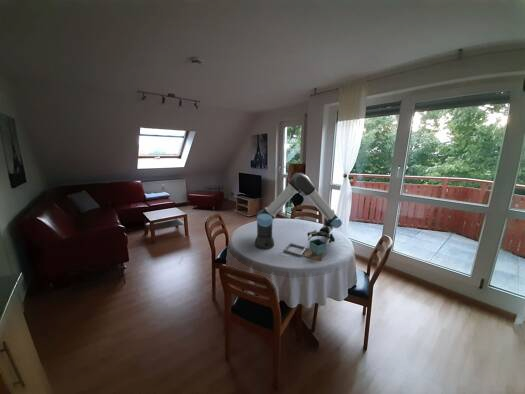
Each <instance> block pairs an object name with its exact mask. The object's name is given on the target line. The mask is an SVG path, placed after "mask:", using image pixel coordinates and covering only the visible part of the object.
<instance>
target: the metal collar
mask: <svg viewBox="0 0 525 394" xmlns="http://www.w3.org/2000/svg"><path fill="white" fill-rule="evenodd" d="M291 246H292V247H295V248H298V249H301V250H302V249H303V250H302V251H300V253H299V252H295V251H291V250H289V248H290V247H291ZM307 250H308V247H307V246H305V245H299V244H296V243H293V242H290V243H289V244H288V245H287V246H286V247H284V249H283V253H286V254H290V255H293V256H298V257H300V258H301V257H302V256H304V254H305V253H306V251H307Z"/></svg>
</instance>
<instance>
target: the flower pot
mask: <svg viewBox="0 0 525 394" xmlns="http://www.w3.org/2000/svg"><path fill="white" fill-rule="evenodd" d="M308 243H309V248H310V250H311V252H312V253H313V254H315V255H316V256H318V255H322V254H323V253H324V252H325V251H326V249H327V246H328V245H327V242H325V241H323V240H322V239H320V238H316V239H313V240H309V241H308ZM325 253H326V252H325Z"/></svg>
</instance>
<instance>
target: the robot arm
mask: <svg viewBox="0 0 525 394" xmlns="http://www.w3.org/2000/svg"><path fill="white" fill-rule="evenodd" d="M316 189H317V188H316V186H315V185H314V184H313V182H312V181H311V179H310V177H309V176H307V175H306V174H304V173H302V172H297V173H294V174H293V175H292V176H291V179H290V180H289V181H288V182H287V186H286V187H285V188H284V190H282V191H281V192H280V194H278V196H277V197H276V198H274V200H273V201H272V202H271V203H270V204H269V205H268V206H265V207H264V208H263V209H262V210H259V211H258V212H257V214H256V228H257V229H256V238H255V240H254V246H255V248H257V249H259V250H270V249H271V248H274V246H275V240H274V237H273V222H274V219H275V218H276V214H277V213H279V211H280V210H281V209H282V208H283V207H284V206H285V205H286V204H287V202H289V201H290V200H291V199H292V198H293V197H294V195H295V194H298V193H300V192H301V193H302V194H303V196H305V197H307V198H308V199H309V200H310V201H311V202H312V204H313V205H314V207H316V208H317V209H318V211H319V212H320V213H321V215H322V216H324V217H323V225H322V226H321V228H320V229H319V231H317V230H316V229H315V230H313V231H309V232H307V241H308V242H309V241H311V239H312V238H313V237H322V238H325V239H326V240H327V241H326V243H327V245H326V246H329V244H331V243H335V239H336V238H335V237H334V235H333V233H331V232H332V230H333V229H339V228H340V227H341V226H342V225H343V222H342V220H341V219H340V218H339V217H338V216H337V214H336V213H335V210H334V209H333V208H331V206H329V204H328V203H327V202H326V201H325V200H324V198H323V197H322V196H321V195H320V193H319V192H318V191H317V190H316Z"/></svg>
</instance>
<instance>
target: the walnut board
mask: <svg viewBox="0 0 525 394" xmlns="http://www.w3.org/2000/svg"><path fill="white" fill-rule="evenodd" d="M325 255H326V252H324V253H323V254H322V255H318V256H316V255H315V254H313V253H312V252H311V250H310V247H308V248H307V250H306V251H305V252H304V253H303V257H306V258H309V259H312V260H317V261H319V262H321V261H322V259H323V257H324V256H325Z"/></svg>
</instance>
